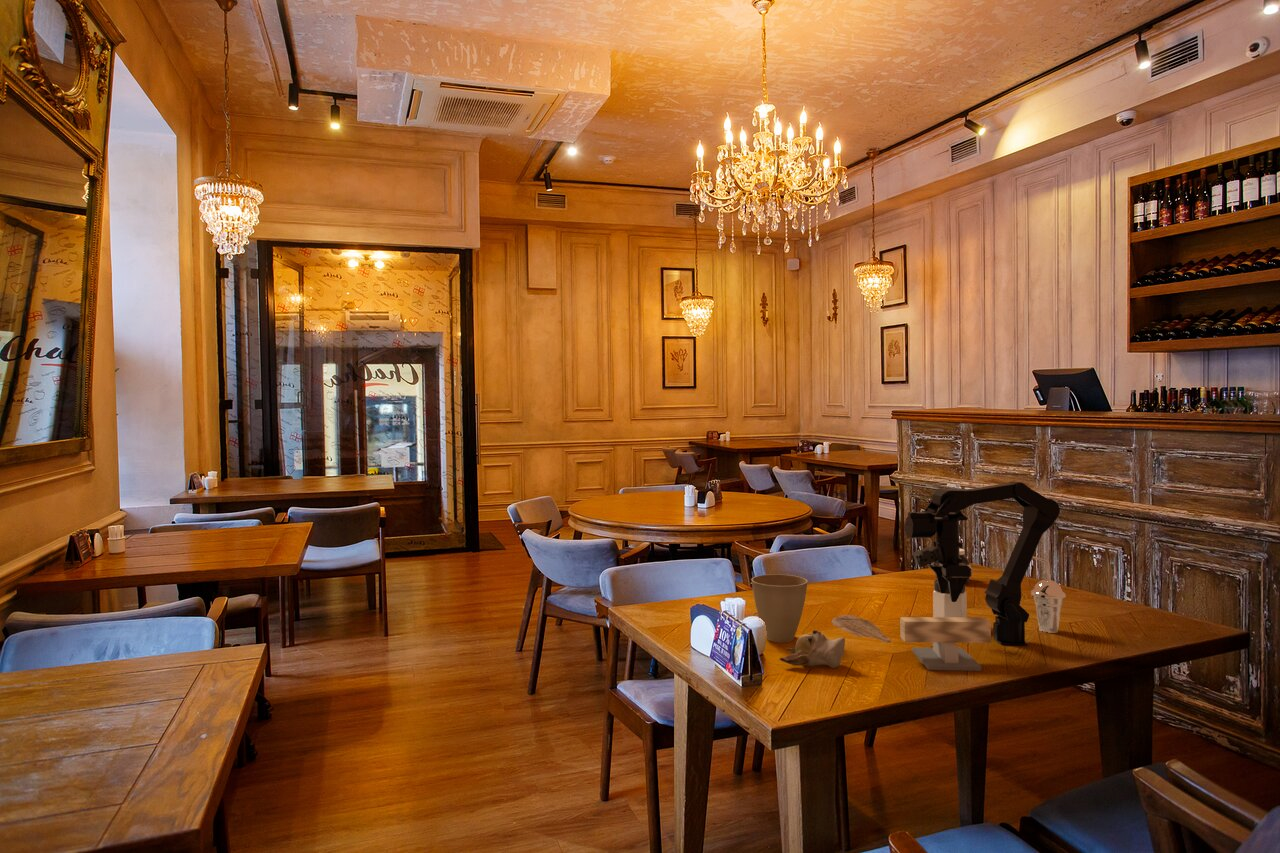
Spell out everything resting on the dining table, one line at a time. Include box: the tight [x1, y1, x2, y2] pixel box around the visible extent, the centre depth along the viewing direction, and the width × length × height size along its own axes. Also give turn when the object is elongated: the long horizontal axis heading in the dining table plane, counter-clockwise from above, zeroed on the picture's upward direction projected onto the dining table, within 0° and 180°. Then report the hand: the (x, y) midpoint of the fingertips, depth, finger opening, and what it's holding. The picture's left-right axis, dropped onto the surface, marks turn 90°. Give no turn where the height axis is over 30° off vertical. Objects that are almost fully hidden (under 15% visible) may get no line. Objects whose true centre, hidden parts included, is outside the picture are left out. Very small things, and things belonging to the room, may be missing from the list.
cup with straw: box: [1030, 555, 1067, 634], centre depth 206 cm, size 8×9×20 cm
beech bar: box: [899, 616, 992, 644], centre depth 183 cm, size 20×4×5 cm, turn 85°
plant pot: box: [750, 573, 809, 643], centre depth 203 cm, size 15×15×16 cm
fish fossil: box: [831, 614, 892, 643], centre depth 210 cm, size 26×10×1 cm, turn 16°
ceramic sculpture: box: [779, 629, 846, 669], centre depth 181 cm, size 11×9×15 cm
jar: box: [932, 579, 968, 617], centre depth 214 cm, size 9×8×12 cm
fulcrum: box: [911, 642, 982, 672], centre depth 183 cm, size 12×14×5 cm
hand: (948, 597), depth 196 cm, fingers open, 9 cm apart
